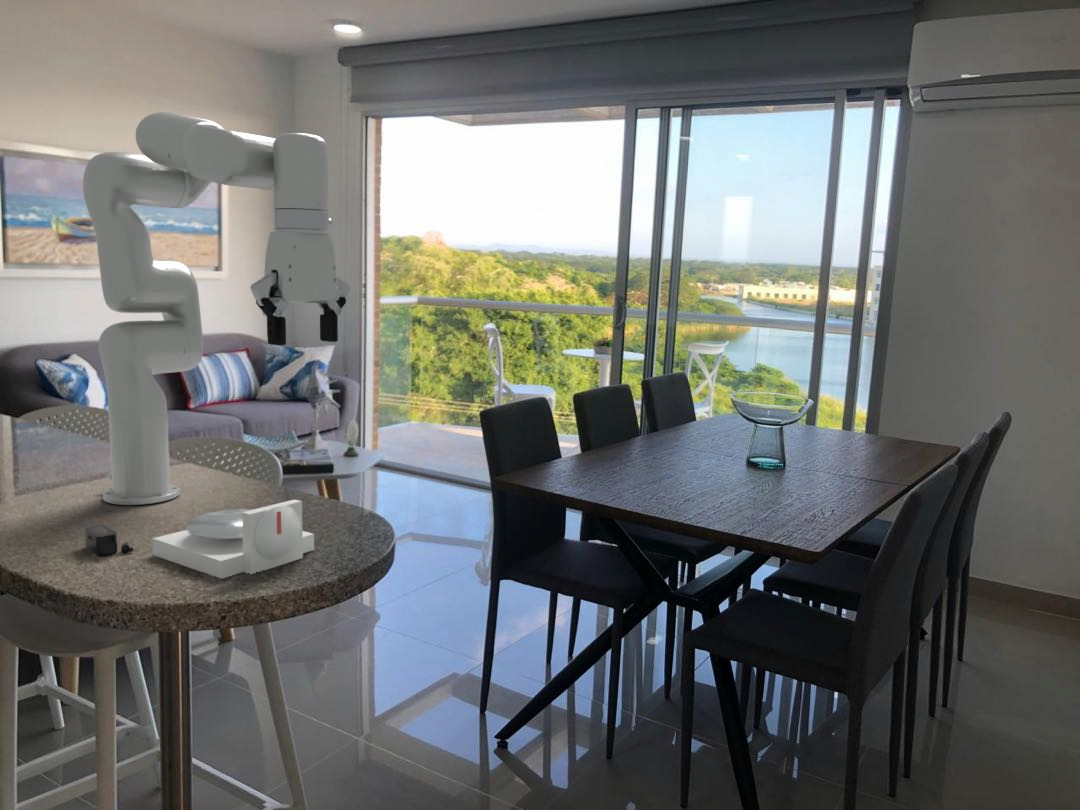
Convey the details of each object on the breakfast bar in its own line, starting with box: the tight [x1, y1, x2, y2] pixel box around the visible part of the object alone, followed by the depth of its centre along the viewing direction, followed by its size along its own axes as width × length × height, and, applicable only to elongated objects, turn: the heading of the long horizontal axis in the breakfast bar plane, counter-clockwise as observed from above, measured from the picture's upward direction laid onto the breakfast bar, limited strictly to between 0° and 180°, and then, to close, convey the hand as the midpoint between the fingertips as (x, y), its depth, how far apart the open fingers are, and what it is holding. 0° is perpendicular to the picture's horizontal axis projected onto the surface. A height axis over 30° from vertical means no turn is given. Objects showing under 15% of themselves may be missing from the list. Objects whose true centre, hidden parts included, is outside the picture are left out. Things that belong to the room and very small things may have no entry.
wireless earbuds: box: [84, 524, 134, 558], centre depth 128 cm, size 5×7×3 cm, turn 43°
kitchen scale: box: [152, 499, 315, 580], centre depth 128 cm, size 18×16×9 cm
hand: (303, 342), depth 128 cm, fingers open, 9 cm apart
